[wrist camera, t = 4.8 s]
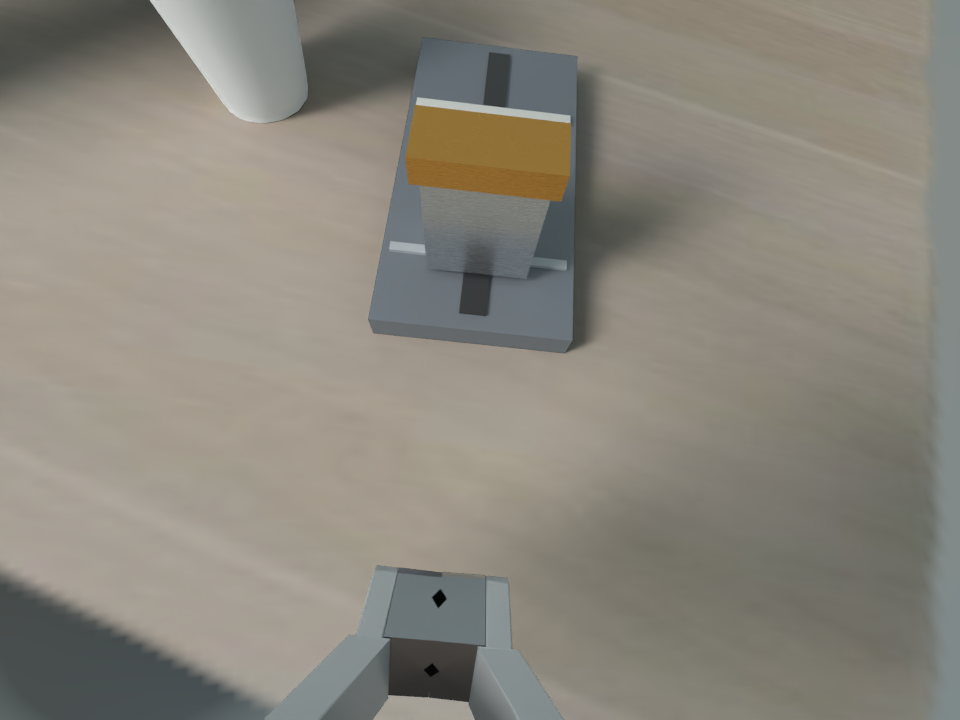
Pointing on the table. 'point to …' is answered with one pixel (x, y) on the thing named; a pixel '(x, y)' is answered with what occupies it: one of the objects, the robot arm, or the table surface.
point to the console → (402, 266)
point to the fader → (485, 186)
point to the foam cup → (244, 52)
